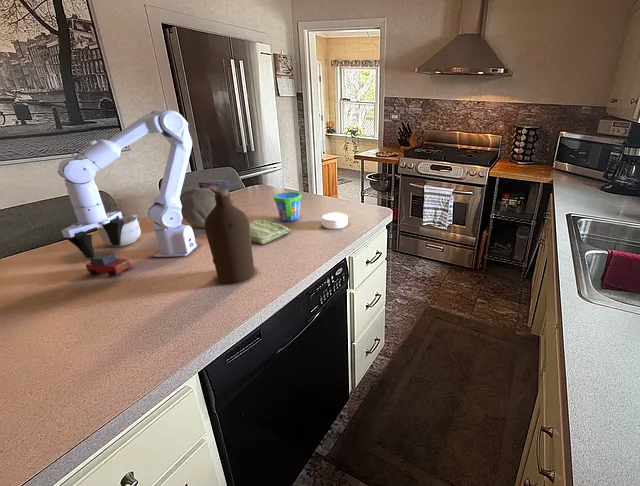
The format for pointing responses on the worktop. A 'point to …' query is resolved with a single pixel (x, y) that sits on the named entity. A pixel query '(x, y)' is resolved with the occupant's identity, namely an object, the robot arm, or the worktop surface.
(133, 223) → the teacup
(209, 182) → the small box
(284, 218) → the snack cup
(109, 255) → the toy car
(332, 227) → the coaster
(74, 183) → the robot arm
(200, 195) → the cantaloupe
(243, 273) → the olive oil
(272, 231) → the washcloth
